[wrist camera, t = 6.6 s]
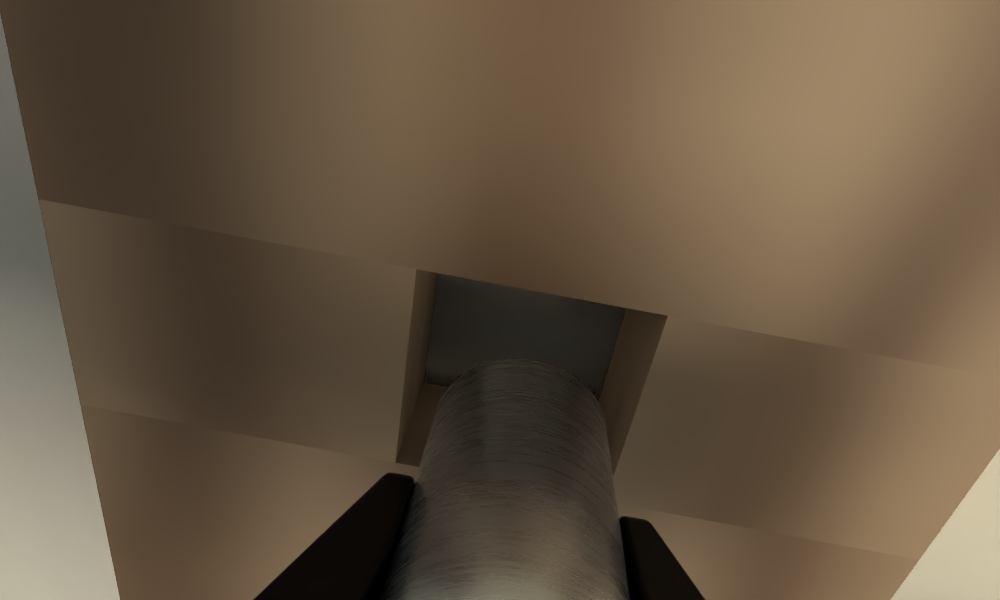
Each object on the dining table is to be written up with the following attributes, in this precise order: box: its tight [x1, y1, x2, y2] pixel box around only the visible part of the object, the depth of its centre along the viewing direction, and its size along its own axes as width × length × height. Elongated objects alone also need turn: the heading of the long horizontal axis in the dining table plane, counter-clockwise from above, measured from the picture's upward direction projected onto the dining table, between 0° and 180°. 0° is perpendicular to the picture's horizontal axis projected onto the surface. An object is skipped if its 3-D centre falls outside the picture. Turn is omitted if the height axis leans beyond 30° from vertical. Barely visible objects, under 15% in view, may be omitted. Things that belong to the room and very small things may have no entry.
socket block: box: [0, 0, 1000, 600], centre depth 12 cm, size 18×18×3 cm
